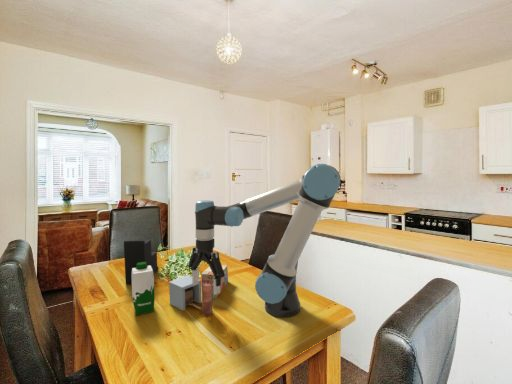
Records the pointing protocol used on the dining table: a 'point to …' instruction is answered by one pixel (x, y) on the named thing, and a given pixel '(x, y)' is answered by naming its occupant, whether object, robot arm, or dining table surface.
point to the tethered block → (205, 299)
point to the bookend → (138, 256)
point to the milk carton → (143, 288)
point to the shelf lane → (183, 291)
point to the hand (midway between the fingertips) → (205, 288)
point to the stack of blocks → (209, 279)
